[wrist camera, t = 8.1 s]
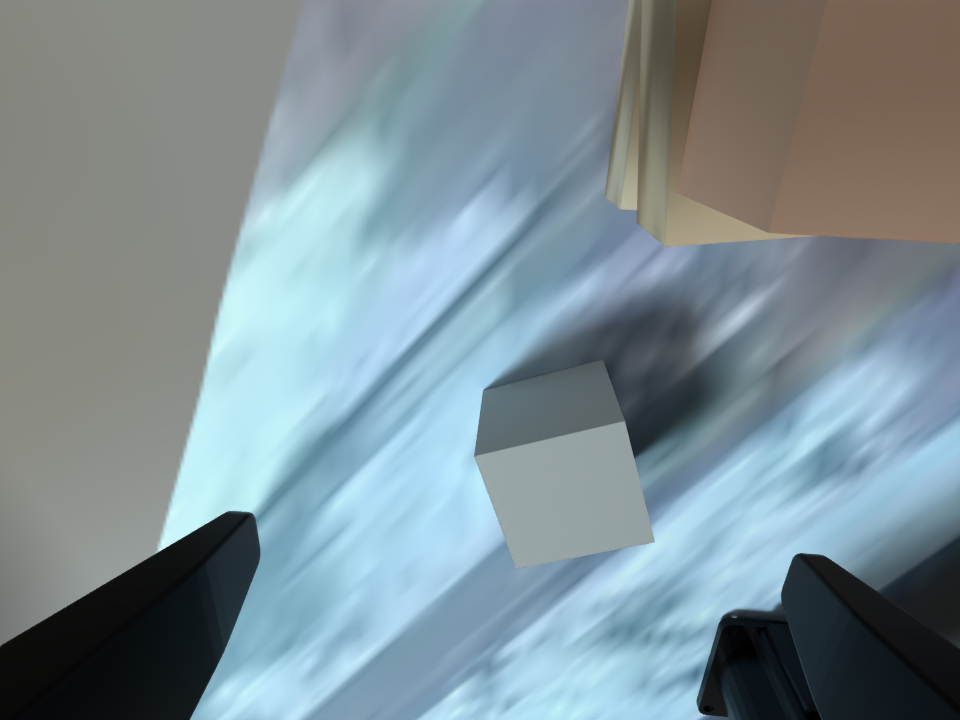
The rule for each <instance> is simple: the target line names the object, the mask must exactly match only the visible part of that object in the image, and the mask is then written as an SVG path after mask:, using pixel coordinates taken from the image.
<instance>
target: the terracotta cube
mask: <svg viewBox="0 0 960 720" xmlns="http://www.w3.org/2000/svg"><path fill="white" fill-rule="evenodd" d="M677 194H680V195H682V196H684V197H686V198H689V199H691V200H693V201H696V202H698V203H700V204H703V205H705V206H707V207H709V208H712V209H714V210H716V211H719V212H721V213H723V214H726V215H728V216H730V217H733V218H735V219H737V220H739V221H742V222H744V223H746V224H749V225H751V226H753V227H756V228H758V229H760V230H762V231H765V232H767V233H776V234H794V235H813V236H831V237H850V238H868V239H886V240H905V241H923V242H942V243H960V0H712V2H711V7H710V13H709V18H708V24H707V29H706V35H705V40H704V46H703V51H702V57H701V62H700V68H699V73H698V79H697V84H696V90H695V95H694V101H693V106H692V112H691V117H690V123H689V128H688V134H687V139H686V145H685V150H684V156H683V161H682V167H681V172H680V178H679V183H678V189H677Z"/></svg>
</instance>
